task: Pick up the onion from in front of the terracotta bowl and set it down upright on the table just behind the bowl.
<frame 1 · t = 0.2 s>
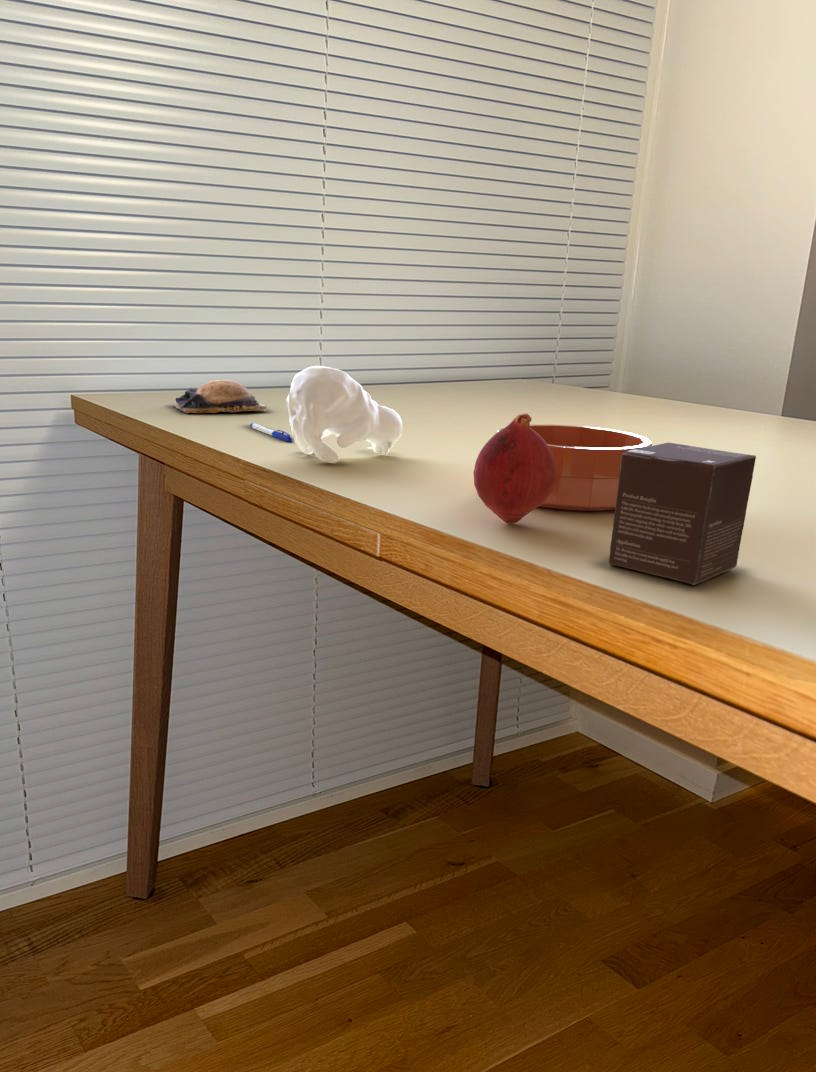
bowl: (565, 496, 81), on the table
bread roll: (219, 410, 122), on the table
ballpoint pen: (269, 437, 106), on the table
box: (670, 570, 62), on the table
white animal figurine: (347, 458, 94), on the table
onion: (509, 526, 71), on the table
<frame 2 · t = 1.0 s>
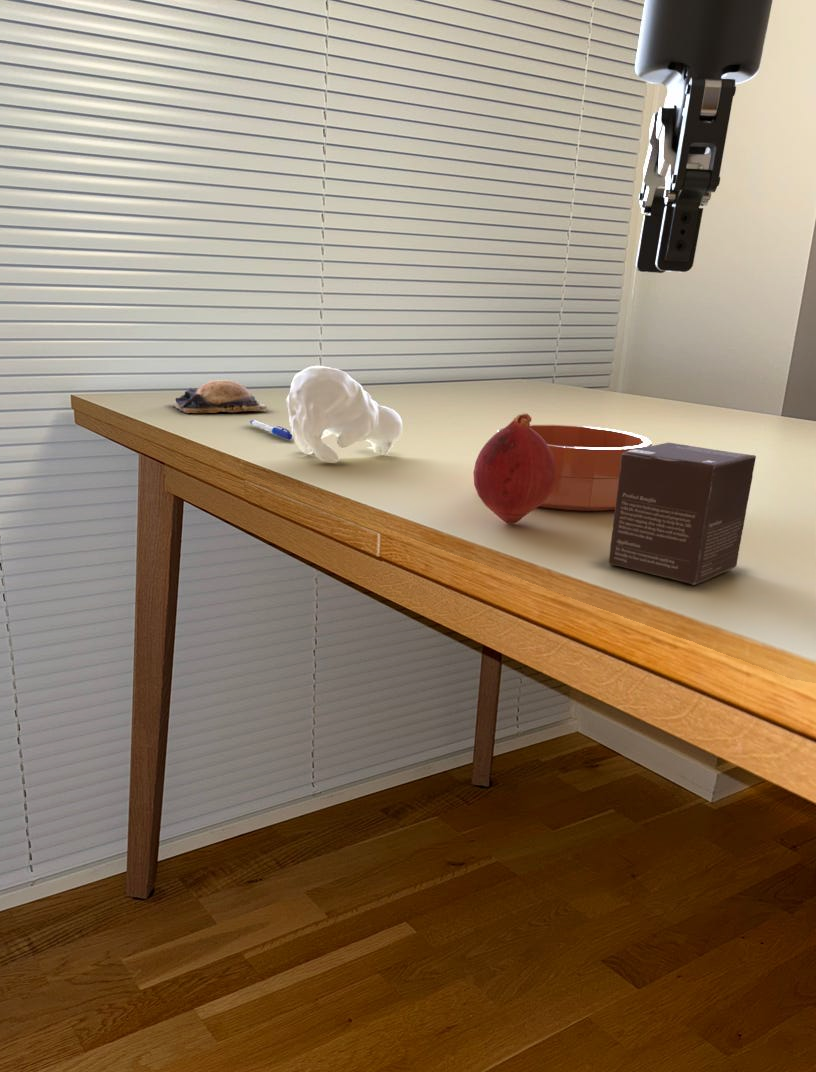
hand: (661, 271, 65), 18 cm above the table, tool pointing down, fingers open, 8 cm apart
nothing on the table moved.
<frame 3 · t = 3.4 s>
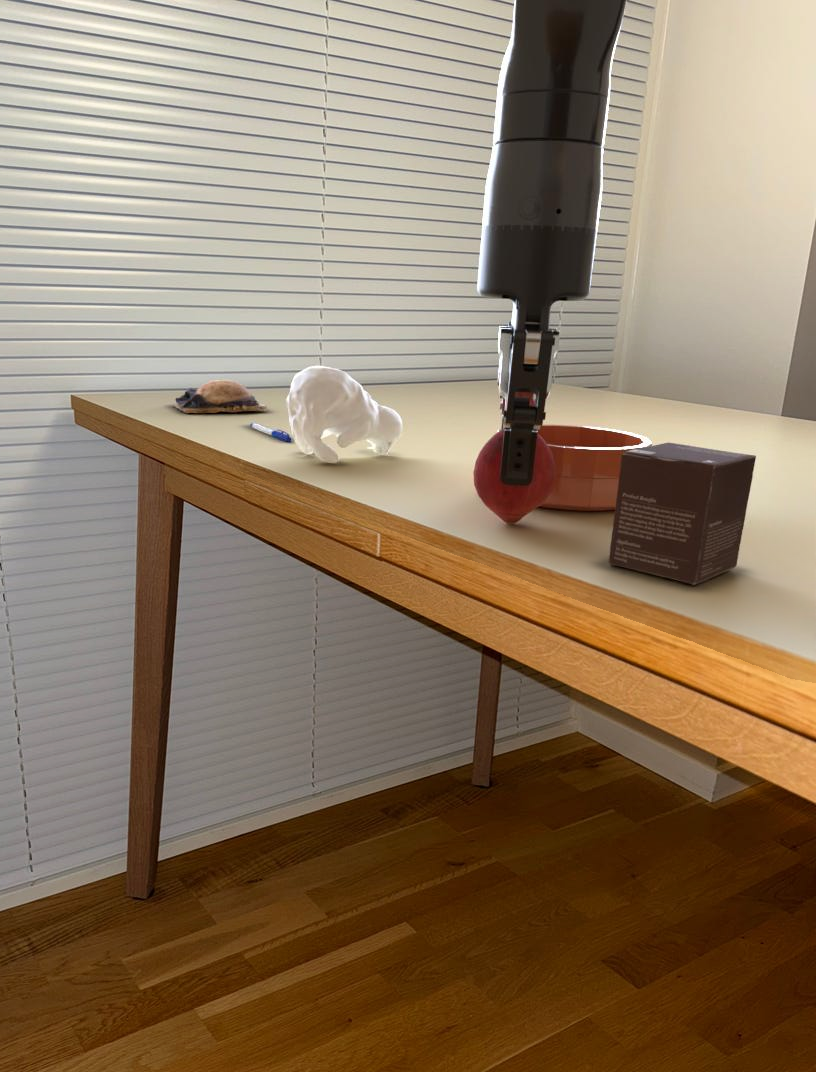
hand: (513, 474, 70), 4 cm above the table, tool pointing down, fingers closed on onion, 6 cm apart
onion: (509, 526, 71), on the table, touching gripper
everything else where it was.
when the fingers open (4 cm above the table, at t = 10.7 s): onion stays where it is, on the table.
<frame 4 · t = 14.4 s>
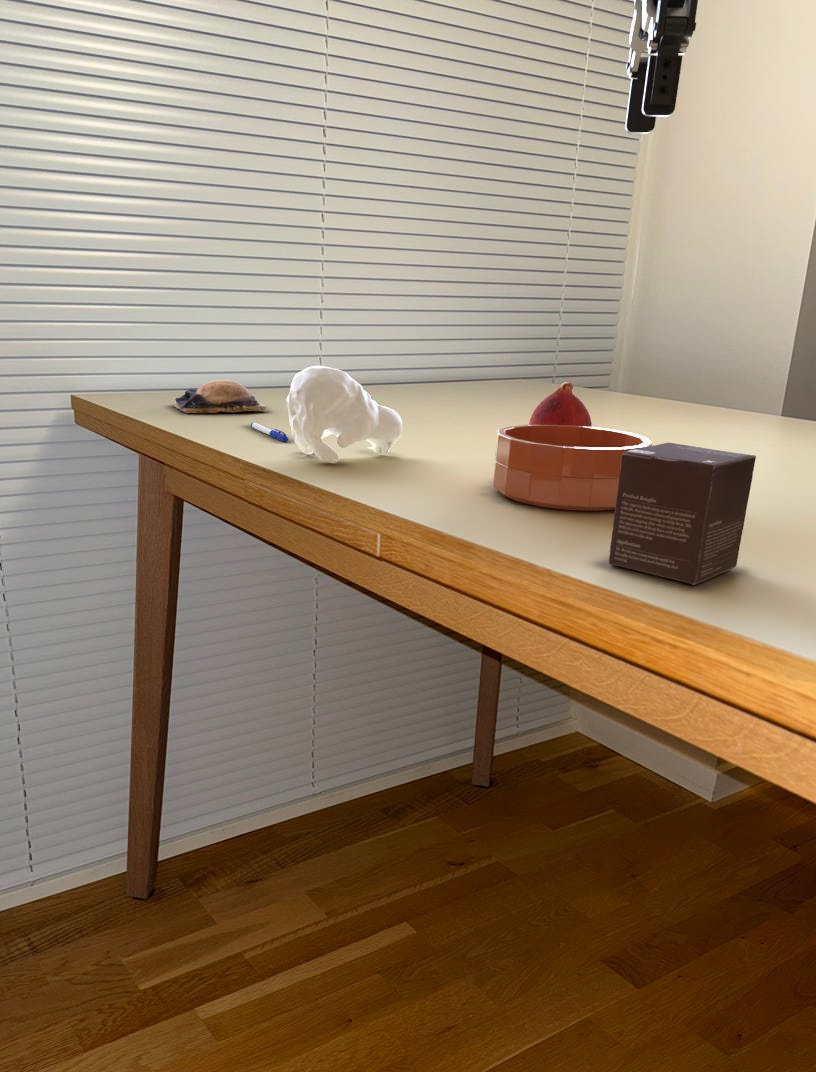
hand: (647, 124, 73), 28 cm above the table, tool pointing down, fingers open, 8 cm apart
onion: (554, 469, 93), on the table
everything else where it was.
at the end: onion inside the target area (0.1 cm from its centre), on the table; onion 12.9 cm from the bowl (horizontally); the gripper is holding nothing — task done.
